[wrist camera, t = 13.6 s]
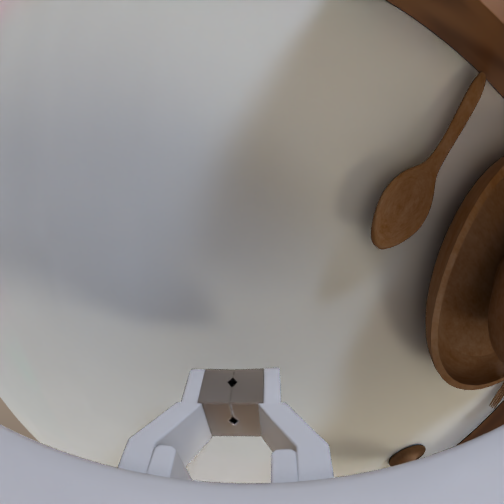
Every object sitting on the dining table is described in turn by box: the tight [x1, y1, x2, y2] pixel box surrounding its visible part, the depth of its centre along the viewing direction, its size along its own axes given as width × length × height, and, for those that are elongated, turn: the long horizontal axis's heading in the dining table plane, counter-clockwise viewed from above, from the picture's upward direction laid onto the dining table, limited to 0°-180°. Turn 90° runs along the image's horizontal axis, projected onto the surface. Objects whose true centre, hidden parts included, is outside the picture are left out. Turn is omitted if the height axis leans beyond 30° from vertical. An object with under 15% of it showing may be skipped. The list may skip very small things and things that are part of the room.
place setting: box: [371, 71, 504, 466], centre depth 9 cm, size 18×20×6 cm
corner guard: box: [387, 0, 504, 445], centre depth 9 cm, size 24×24×4 cm
